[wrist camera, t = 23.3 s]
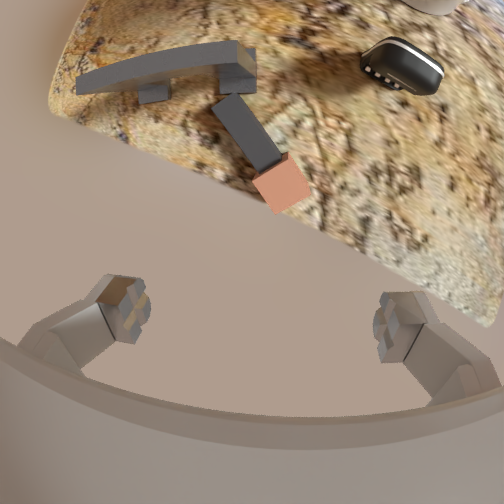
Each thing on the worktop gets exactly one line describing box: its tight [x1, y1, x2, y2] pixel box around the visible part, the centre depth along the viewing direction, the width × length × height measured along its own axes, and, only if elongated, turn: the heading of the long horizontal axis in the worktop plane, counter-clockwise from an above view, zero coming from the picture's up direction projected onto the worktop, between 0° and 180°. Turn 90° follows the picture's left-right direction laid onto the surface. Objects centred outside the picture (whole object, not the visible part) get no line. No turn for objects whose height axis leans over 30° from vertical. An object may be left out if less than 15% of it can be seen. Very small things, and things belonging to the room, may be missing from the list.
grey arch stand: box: [76, 40, 257, 104], centre depth 24 cm, size 6×16×14 cm, turn 91°
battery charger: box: [360, 36, 444, 96], centre depth 21 cm, size 7×4×11 cm, turn 71°
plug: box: [211, 93, 311, 215], centre depth 32 cm, size 15×5×5 cm, turn 35°
